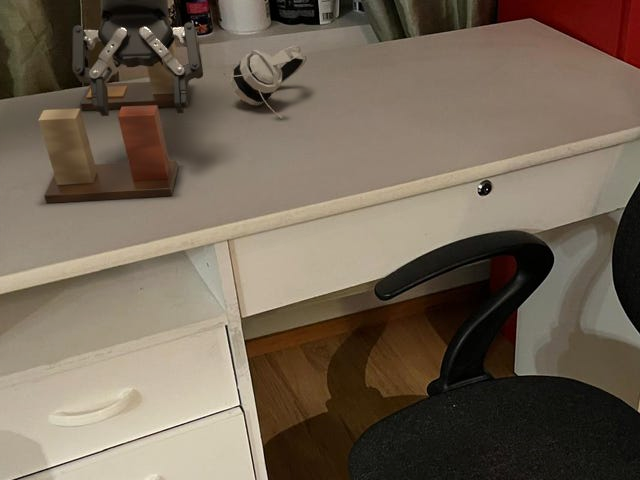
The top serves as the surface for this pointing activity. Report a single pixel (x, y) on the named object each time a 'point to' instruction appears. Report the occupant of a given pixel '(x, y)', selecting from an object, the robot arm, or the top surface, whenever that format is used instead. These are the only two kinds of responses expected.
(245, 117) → the top surface
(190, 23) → the robot arm
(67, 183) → the cream block stand
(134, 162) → the tall red-orange pillar
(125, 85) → the upright block on base
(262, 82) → the headphones
